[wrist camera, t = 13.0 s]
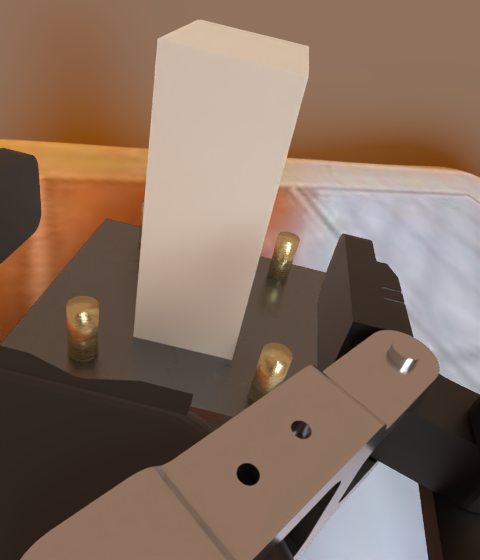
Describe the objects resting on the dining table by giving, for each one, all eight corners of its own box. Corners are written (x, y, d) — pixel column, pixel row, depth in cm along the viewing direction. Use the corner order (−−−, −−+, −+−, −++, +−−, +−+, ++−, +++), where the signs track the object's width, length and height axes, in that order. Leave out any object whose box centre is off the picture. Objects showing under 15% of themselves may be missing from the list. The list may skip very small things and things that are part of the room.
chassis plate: (323, 288, 28) (343, 239, 26) (328, 459, 18) (359, 401, 16) (105, 235, 28) (107, 180, 26) (-7, 377, 18) (-19, 308, 16)
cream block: (247, 283, 25) (308, 46, 18) (231, 360, 20) (308, 75, 13) (167, 264, 25) (199, 19, 18) (133, 336, 20) (157, 38, 13)
